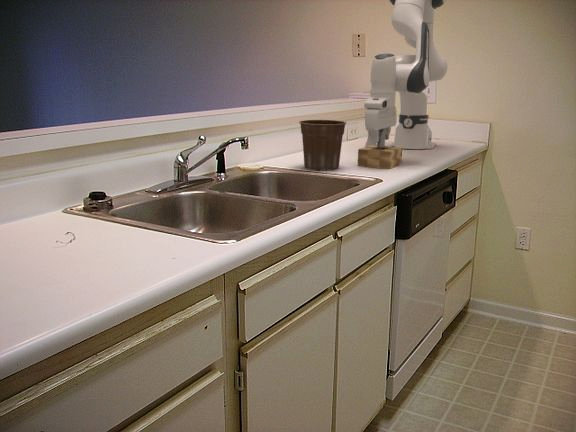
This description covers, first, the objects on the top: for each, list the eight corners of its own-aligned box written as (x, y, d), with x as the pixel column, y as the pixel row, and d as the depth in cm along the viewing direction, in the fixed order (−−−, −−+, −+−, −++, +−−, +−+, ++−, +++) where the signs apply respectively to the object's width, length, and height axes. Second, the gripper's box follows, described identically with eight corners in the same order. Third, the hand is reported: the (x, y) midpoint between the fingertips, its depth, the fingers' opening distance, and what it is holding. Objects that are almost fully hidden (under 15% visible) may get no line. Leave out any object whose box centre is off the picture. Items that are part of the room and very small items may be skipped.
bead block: (371, 161, 214) (371, 145, 212) (401, 163, 208) (402, 147, 206) (357, 165, 204) (358, 149, 202) (389, 168, 198) (389, 151, 196)
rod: (378, 164, 208) (379, 125, 204) (385, 164, 206) (386, 125, 203) (374, 165, 205) (376, 126, 202) (382, 165, 204) (383, 126, 200)
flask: (379, 157, 223) (380, 131, 221) (360, 156, 225) (361, 131, 222) (380, 154, 230) (381, 129, 228) (362, 154, 232) (363, 129, 229)
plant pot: (353, 166, 202) (354, 121, 198) (330, 173, 189) (331, 124, 185) (314, 162, 211) (315, 118, 207) (290, 169, 198) (290, 122, 194)
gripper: (385, 99, 210) (384, 137, 214) (362, 103, 193) (360, 143, 197) (401, 100, 207) (399, 138, 211) (379, 103, 190) (377, 145, 194)
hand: (380, 141), depth 204 cm, fingers open, 8 cm apart
